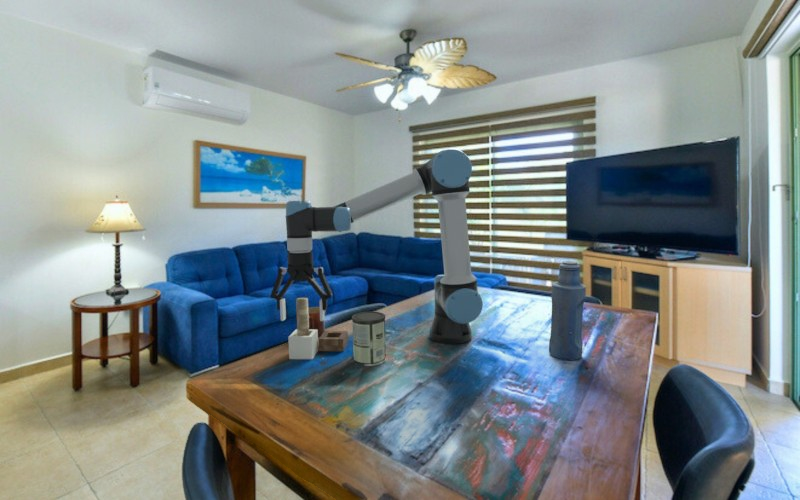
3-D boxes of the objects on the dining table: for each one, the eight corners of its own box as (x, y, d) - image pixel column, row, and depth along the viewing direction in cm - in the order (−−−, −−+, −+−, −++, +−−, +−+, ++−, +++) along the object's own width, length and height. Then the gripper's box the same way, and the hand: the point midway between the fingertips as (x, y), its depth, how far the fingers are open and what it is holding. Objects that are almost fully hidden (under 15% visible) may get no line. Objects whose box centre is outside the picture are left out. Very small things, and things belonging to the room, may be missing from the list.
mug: (308, 332, 143) (307, 306, 142) (330, 334, 142) (329, 307, 140) (293, 344, 132) (292, 315, 130) (317, 345, 130) (316, 316, 129)
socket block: (348, 345, 130) (347, 331, 129) (343, 354, 122) (343, 339, 121) (325, 344, 130) (324, 330, 130) (319, 353, 122) (318, 339, 122)
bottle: (556, 346, 127) (559, 258, 123) (587, 354, 120) (591, 261, 116) (543, 355, 120) (547, 261, 116) (575, 363, 113) (580, 265, 109)
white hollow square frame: (318, 353, 123) (317, 329, 122) (312, 362, 116) (311, 337, 115) (296, 352, 123) (295, 329, 122) (289, 362, 116) (288, 337, 115)
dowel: (311, 352, 121) (309, 297, 119) (308, 356, 118) (306, 300, 116) (300, 352, 121) (298, 297, 119) (296, 356, 118) (294, 300, 116)
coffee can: (361, 351, 124) (360, 310, 122) (390, 355, 121) (390, 312, 119) (347, 364, 114) (345, 319, 113) (378, 368, 111) (377, 322, 109)
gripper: (341, 249, 119) (343, 316, 121) (266, 249, 120) (269, 316, 122) (336, 252, 111) (338, 323, 114) (256, 252, 112) (260, 323, 115)
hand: (302, 319), depth 118 cm, fingers open, 12 cm apart
